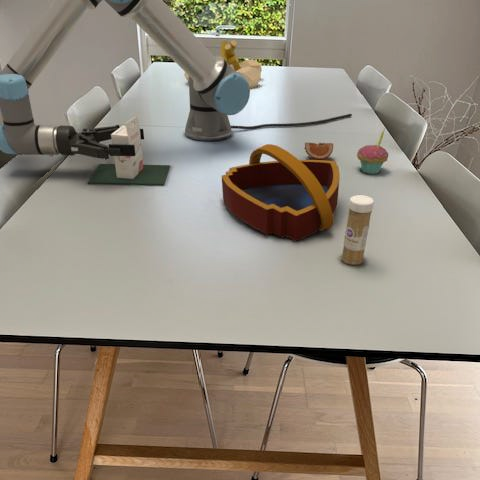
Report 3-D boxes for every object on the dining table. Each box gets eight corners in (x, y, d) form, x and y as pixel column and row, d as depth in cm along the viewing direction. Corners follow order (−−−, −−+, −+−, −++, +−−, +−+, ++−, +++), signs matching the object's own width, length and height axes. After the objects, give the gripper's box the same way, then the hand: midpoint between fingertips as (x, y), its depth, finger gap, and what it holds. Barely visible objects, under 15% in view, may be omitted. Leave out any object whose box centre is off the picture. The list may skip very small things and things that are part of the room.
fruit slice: (303, 162, 158) (304, 145, 155) (303, 154, 163) (305, 138, 160) (331, 163, 157) (333, 146, 154) (331, 156, 162) (333, 139, 160)
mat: (170, 166, 153) (169, 165, 153) (163, 185, 142) (163, 183, 141) (100, 165, 153) (99, 163, 153) (88, 184, 142) (87, 182, 141)
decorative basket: (207, 198, 140) (197, 143, 131) (305, 168, 147) (302, 113, 138) (262, 260, 116) (255, 197, 106) (377, 220, 123) (380, 157, 113)
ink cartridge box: (127, 167, 151) (121, 113, 142) (144, 168, 150) (139, 114, 142) (115, 178, 144) (108, 121, 135) (133, 179, 143) (127, 123, 135)
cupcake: (386, 167, 155) (394, 125, 148) (383, 178, 148) (391, 134, 141) (357, 164, 157) (363, 122, 150) (352, 173, 151) (358, 130, 144)
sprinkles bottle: (337, 260, 110) (345, 199, 103) (348, 252, 113) (357, 192, 105) (356, 268, 108) (366, 205, 100) (367, 259, 111) (378, 198, 103)
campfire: (262, 92, 226) (264, 47, 216) (182, 90, 226) (180, 45, 216) (260, 74, 255) (262, 34, 245) (189, 73, 255) (188, 32, 245)
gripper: (74, 139, 154) (147, 141, 154) (47, 171, 134) (132, 172, 134) (69, 112, 150) (145, 114, 150) (41, 141, 130) (129, 142, 130)
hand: (139, 142), depth 142 cm, fingers open, 13 cm apart
